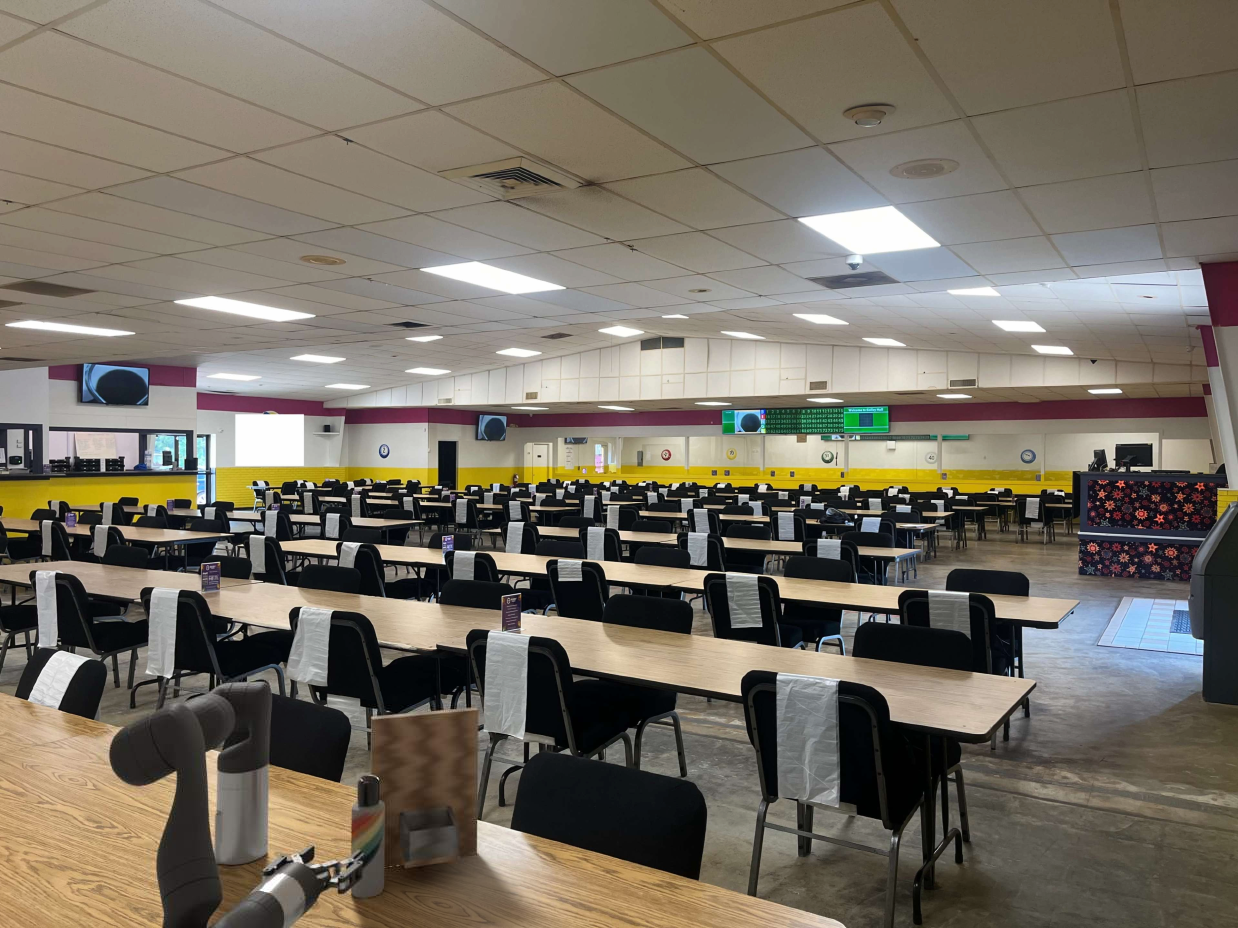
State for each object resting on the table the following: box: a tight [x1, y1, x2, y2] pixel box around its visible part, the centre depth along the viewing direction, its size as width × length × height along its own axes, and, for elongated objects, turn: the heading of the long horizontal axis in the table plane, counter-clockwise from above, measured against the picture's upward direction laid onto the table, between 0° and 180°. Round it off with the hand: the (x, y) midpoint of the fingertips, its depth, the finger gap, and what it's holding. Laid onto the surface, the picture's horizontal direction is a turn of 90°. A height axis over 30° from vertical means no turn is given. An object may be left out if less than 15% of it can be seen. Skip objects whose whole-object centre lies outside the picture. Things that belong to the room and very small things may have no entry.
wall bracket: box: [370, 706, 479, 869], centre depth 157 cm, size 20×12×28 cm, turn 110°
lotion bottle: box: [350, 774, 385, 899], centre depth 149 cm, size 6×6×20 cm
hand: (336, 853), depth 138 cm, fingers open, 8 cm apart
